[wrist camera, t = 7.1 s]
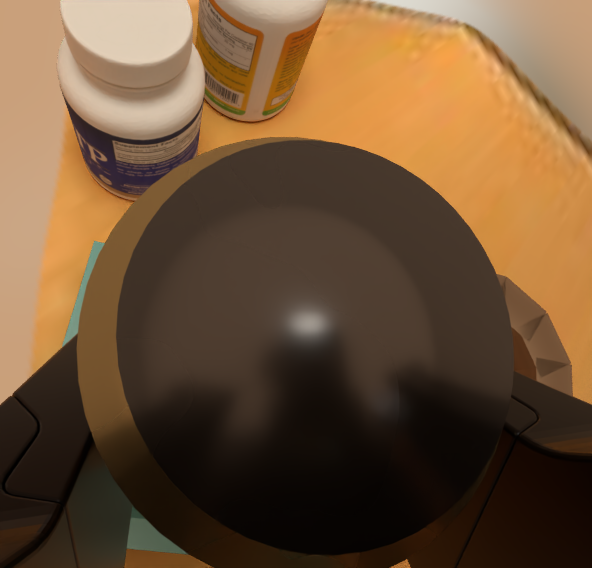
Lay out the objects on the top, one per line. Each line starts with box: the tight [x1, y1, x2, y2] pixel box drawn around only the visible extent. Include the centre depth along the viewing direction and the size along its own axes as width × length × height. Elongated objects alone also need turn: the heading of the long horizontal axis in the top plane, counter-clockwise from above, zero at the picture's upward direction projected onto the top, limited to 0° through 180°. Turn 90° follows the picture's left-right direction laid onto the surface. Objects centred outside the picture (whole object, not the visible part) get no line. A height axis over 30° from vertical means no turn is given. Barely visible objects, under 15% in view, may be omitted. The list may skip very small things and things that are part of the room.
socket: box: [496, 274, 573, 396], centre depth 22 cm, size 10×10×3 cm
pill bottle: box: [57, 0, 205, 201], centre depth 19 cm, size 5×5×9 cm
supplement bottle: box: [196, 0, 328, 121], centre depth 21 cm, size 5×5×10 cm
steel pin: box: [77, 137, 514, 568], centre depth 10 cm, size 4×4×12 cm
